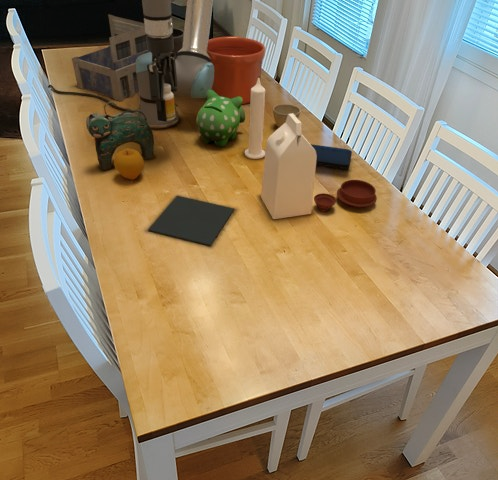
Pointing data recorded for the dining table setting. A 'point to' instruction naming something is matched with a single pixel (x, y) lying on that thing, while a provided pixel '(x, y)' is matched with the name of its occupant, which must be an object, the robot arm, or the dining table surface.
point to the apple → (129, 163)
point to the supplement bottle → (169, 101)
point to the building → (114, 61)
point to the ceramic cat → (119, 134)
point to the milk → (288, 171)
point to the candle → (256, 122)
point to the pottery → (349, 195)
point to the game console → (332, 157)
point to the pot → (235, 65)
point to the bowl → (284, 113)
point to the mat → (192, 220)
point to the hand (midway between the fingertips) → (166, 116)
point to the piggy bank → (220, 118)
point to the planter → (177, 40)
